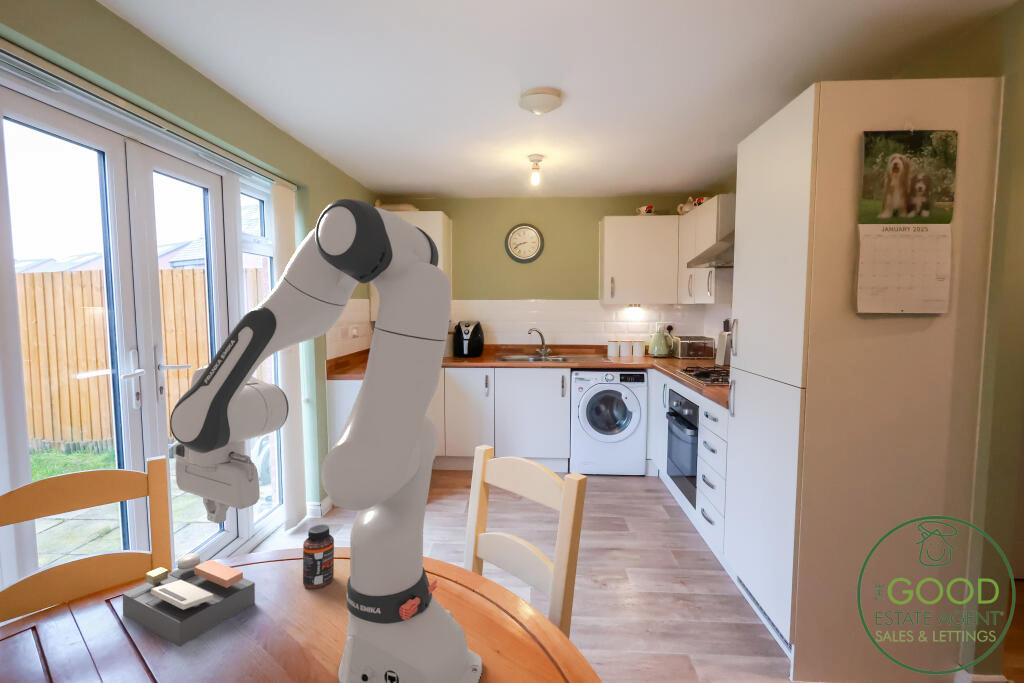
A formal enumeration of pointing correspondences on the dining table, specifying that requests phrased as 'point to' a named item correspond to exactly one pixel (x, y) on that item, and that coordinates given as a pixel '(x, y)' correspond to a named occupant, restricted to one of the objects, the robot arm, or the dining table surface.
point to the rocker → (182, 594)
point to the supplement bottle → (318, 557)
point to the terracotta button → (218, 573)
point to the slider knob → (157, 576)
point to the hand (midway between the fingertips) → (216, 520)
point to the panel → (191, 620)
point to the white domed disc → (188, 561)
